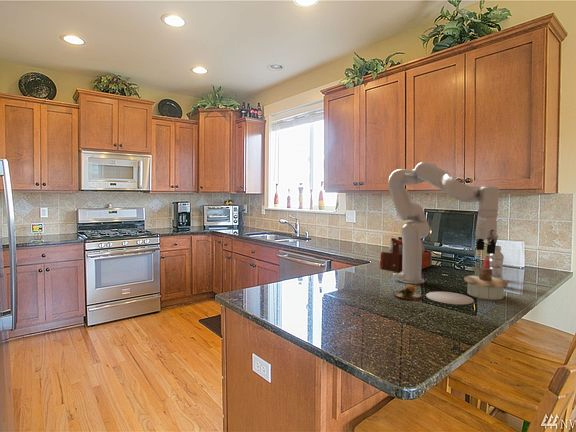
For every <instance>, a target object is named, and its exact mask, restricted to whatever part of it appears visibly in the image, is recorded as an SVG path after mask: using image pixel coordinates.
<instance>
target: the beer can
mask: <svg viewBox="0 0 576 432" xmlns="http://www.w3.org/2000/svg"><path fill="white" fill-rule="evenodd" d="M483 268H489V269H490V263H489V255H487V256H486V255H485V258H484V261H483Z"/></svg>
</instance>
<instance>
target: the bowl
mask: <svg viewBox="0 0 576 432" xmlns="http://www.w3.org/2000/svg"><path fill="white" fill-rule="evenodd" d="M466 289H467V290H466V291H467V292H466V293H467V294H468V296H471V297H474V298H478V299H484V300H501V299H502V300H503V299H504V294H505V293H504V291H505V290H504V289H505V287H484V286H477V285H473V284H469V283H467V288H466Z"/></svg>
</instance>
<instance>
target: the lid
mask: <svg viewBox="0 0 576 432" xmlns="http://www.w3.org/2000/svg"><path fill="white" fill-rule="evenodd" d="M478 274H479V275H467V276H464V279H463V280H464V282H465V283H467V284H468V283H469V284H473V285H477V286H484V287H504V288H506V287H508V280H506V279H504V278H503V279H500V278H495V277H492V269H489V268H484V267H480V268H479V273H478Z"/></svg>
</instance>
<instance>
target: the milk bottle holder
mask: <svg viewBox="0 0 576 432" xmlns="http://www.w3.org/2000/svg"><path fill="white" fill-rule="evenodd" d="M420 240H421V245H422V265H421V270H423V269H425V268H430V267H431V266H432V263H433V260H432V257H433V256H432V252H433V251H432V250H431V249H425V245H424V244H423V241H424V240H423V238H422V239H420ZM390 243H391V244H390V246H389V247H388V251H381V252H380V262H379V268H380V269H383V270H389V271H395V272H401V271H402V259H403V242H402V236H398V237H397V238H394V237H391V238H390Z"/></svg>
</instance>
